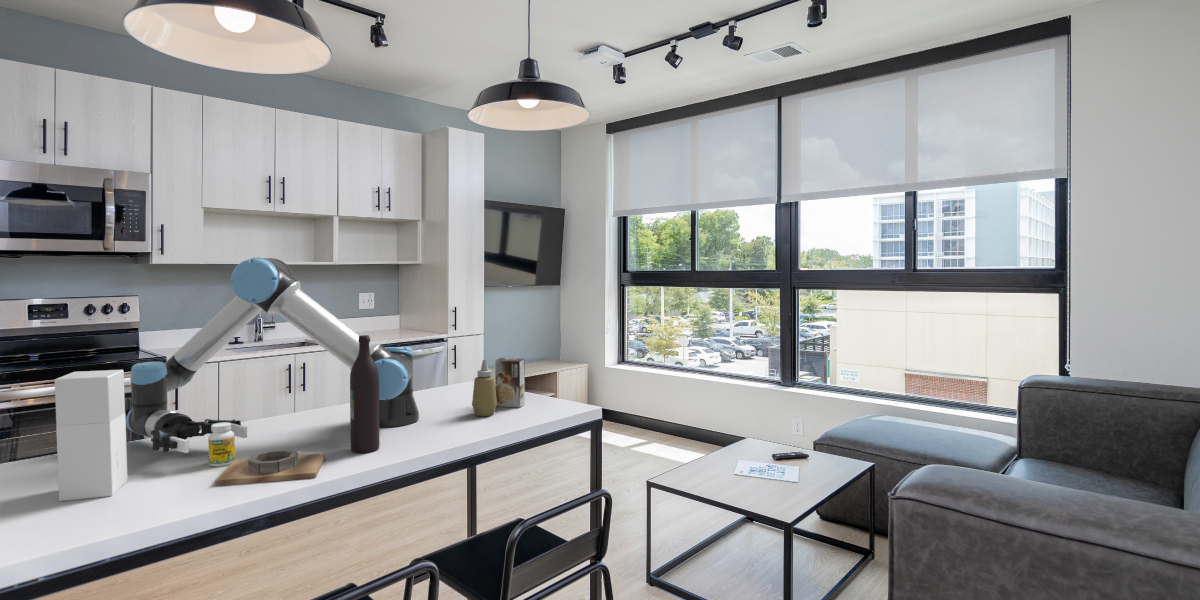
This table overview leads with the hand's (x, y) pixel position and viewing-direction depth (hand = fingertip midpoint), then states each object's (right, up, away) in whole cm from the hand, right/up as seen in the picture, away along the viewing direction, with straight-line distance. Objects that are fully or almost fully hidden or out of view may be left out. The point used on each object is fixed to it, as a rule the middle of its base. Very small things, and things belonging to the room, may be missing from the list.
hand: (217, 439), depth 144 cm
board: (+16, -6, -4) cm, 18 cm away
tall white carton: (-14, -7, -18) cm, 24 cm away
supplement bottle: (+1, -6, 0) cm, 6 cm away
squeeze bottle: (+55, -4, +50) cm, 74 cm away
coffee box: (+61, -3, +64) cm, 88 cm away
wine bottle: (+31, -6, +13) cm, 34 cm away
